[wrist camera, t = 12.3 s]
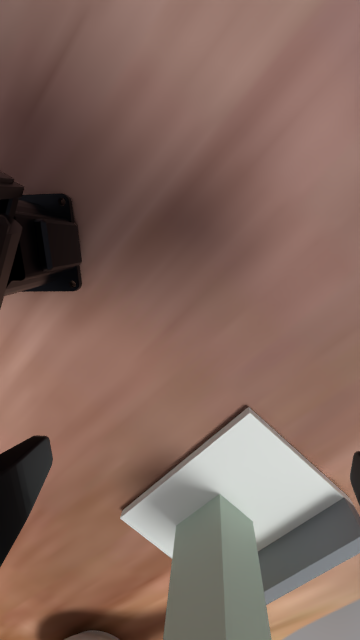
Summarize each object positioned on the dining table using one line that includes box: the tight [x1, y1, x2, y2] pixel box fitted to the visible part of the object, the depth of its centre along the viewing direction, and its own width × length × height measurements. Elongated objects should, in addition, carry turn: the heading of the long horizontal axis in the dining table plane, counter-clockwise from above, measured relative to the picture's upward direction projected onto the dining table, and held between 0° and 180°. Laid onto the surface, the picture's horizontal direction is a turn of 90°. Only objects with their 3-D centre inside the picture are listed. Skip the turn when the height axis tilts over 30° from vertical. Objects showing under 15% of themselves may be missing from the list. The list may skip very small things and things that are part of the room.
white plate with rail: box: [120, 407, 360, 605], centre depth 23 cm, size 16×12×4 cm
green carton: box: [163, 494, 271, 640], centre depth 19 cm, size 6×4×12 cm
